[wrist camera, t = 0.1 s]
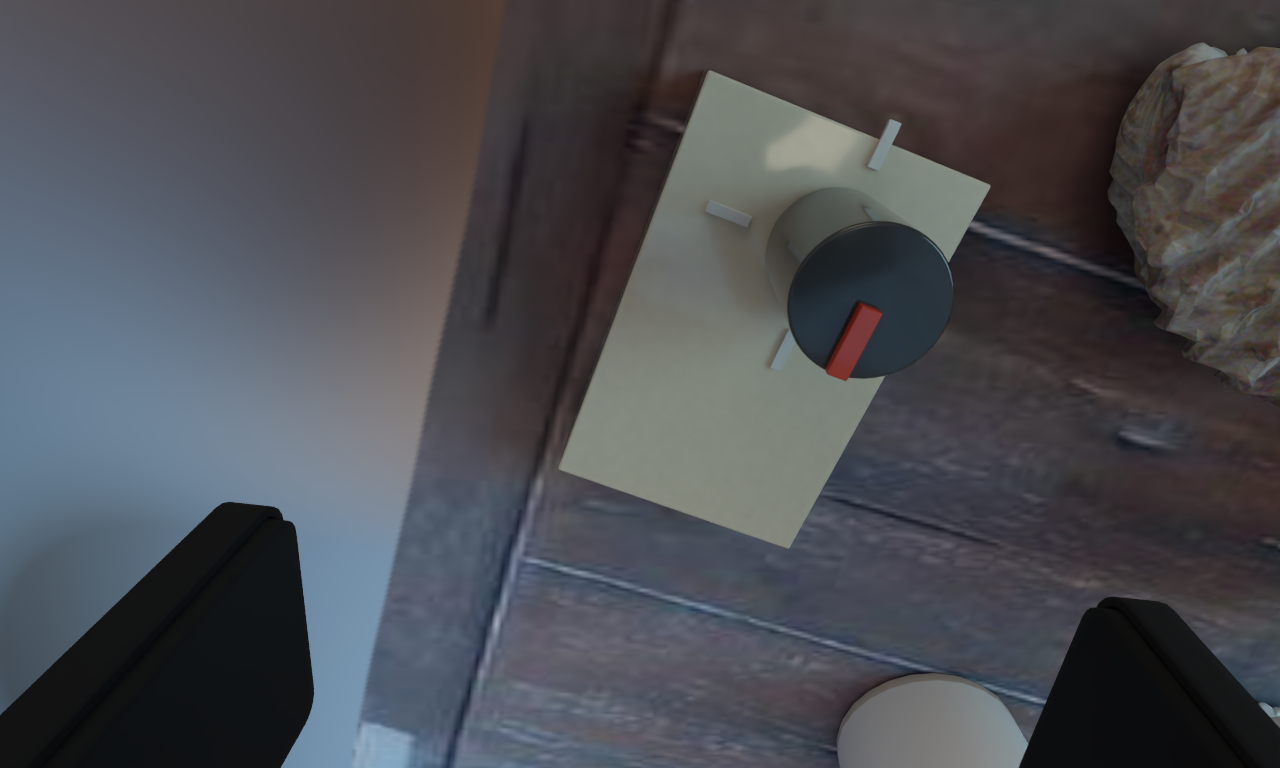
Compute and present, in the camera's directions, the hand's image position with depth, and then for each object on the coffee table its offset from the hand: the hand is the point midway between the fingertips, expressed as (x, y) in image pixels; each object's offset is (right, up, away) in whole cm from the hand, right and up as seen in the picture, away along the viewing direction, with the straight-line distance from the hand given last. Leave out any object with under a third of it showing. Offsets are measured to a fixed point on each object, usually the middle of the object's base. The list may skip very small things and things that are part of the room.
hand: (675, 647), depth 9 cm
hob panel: (+3, +6, +18) cm, 19 cm away
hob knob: (+5, +7, +14) cm, 16 cm away
